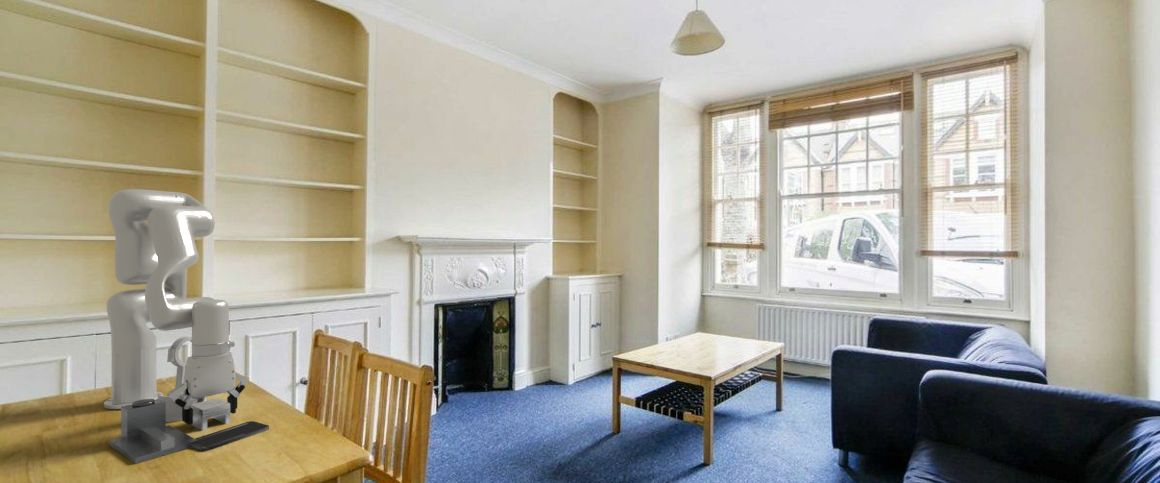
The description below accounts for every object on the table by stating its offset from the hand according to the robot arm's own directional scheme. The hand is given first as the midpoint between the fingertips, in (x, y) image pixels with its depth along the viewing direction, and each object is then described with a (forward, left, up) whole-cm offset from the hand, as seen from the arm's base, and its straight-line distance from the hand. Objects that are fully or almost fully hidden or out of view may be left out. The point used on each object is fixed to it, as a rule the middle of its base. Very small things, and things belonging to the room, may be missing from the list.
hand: (210, 417), depth 128 cm
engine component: (-13, -1, -2) cm, 13 cm away
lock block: (0, 0, -2) cm, 2 cm away
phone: (+13, -1, -2) cm, 13 cm away
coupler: (+5, -13, -1) cm, 14 cm away
